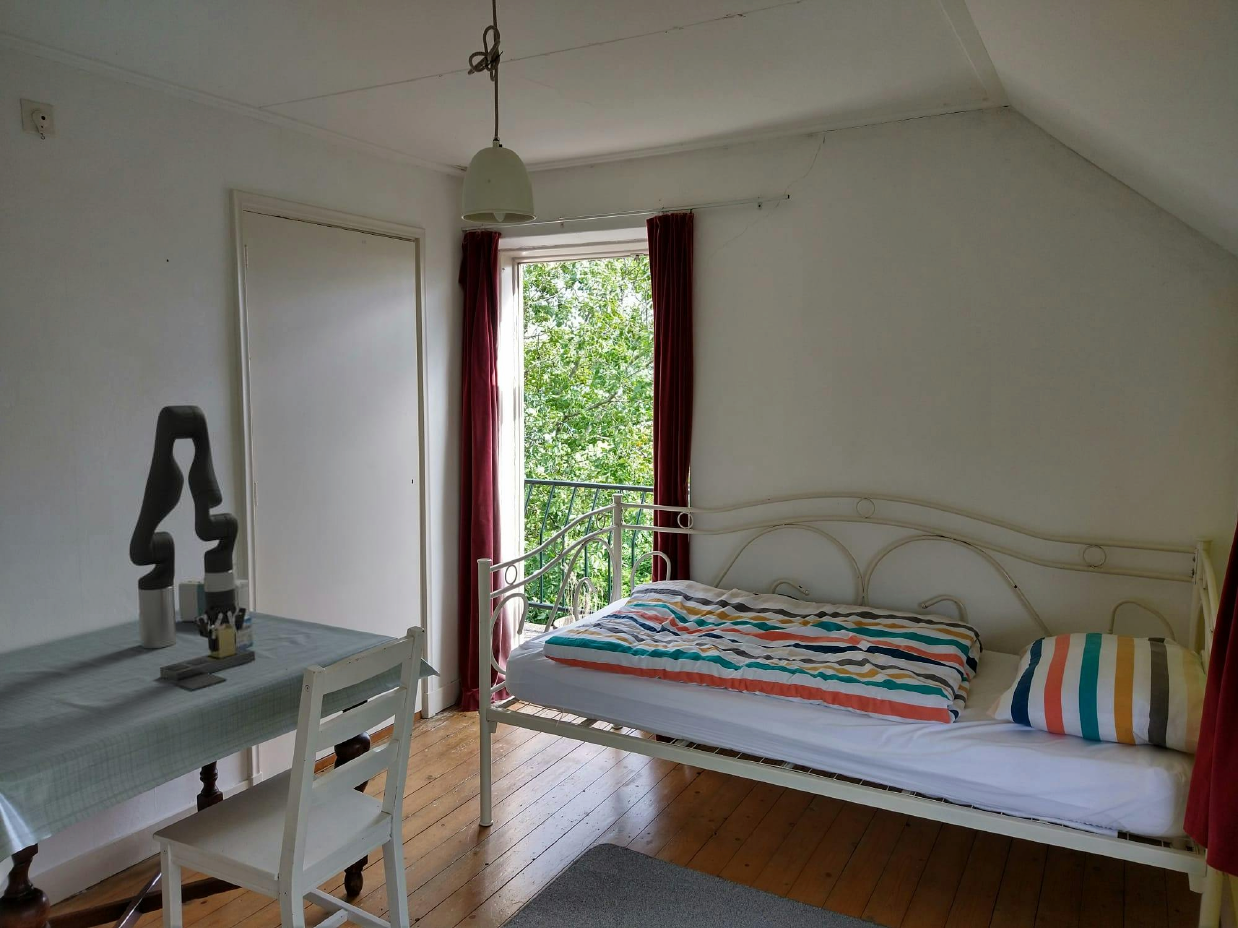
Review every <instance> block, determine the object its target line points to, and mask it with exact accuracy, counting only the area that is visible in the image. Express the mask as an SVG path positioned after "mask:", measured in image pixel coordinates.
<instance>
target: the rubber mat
mask: <svg viewBox="0 0 1238 928" xmlns="http://www.w3.org/2000/svg"><path fill="white" fill-rule="evenodd" d="M225 682H227V678H224V677H221V676H219V675H215V674H211V673H209V674H208V673H204V674H201V675H198V676H194V677H191V678H187V679H184V680H180V681H177V682H174V681H172V685H173V684H174V686H176V687H179V686H180V687H179V688H183V689H185V690H188V689H190V690H189V691H191V690H192V692H194V690H195V691H197V689H198V690H201V689H204V688H207V687H206V686H208V687H211V686H213V685H212V684H214V685H217V683H218V684H221V683H225ZM210 685H211V686H210ZM200 688H201V689H200Z"/></svg>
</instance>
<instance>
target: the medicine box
mask: <svg viewBox="0 0 1238 928" xmlns="http://www.w3.org/2000/svg"><path fill="white" fill-rule="evenodd" d="M233 620H234V621H235V618H234V619H233ZM221 626H224V624H222V625H221ZM253 637H254V636H253V617H251V616H249V617H248V616H245V618H244V622H243V627H242V629H241V630H238V631H237V632H236V644H235V647H240V648H244V649H248V648H250V647H252V646H254V639H253ZM251 645H252V646H251ZM247 647H248V648H247Z"/></svg>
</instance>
